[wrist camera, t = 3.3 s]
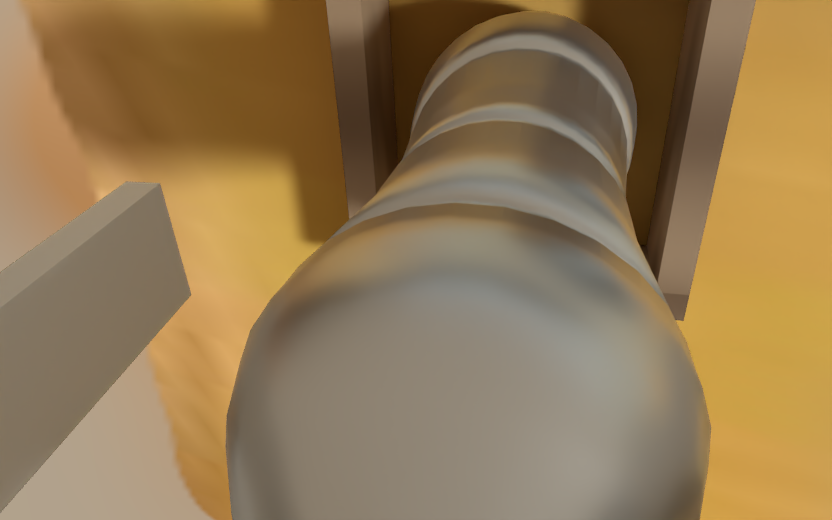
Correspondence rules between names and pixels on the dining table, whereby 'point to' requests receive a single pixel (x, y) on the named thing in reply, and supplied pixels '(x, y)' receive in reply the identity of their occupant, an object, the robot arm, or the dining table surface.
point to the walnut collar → (684, 143)
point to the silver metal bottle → (481, 317)
